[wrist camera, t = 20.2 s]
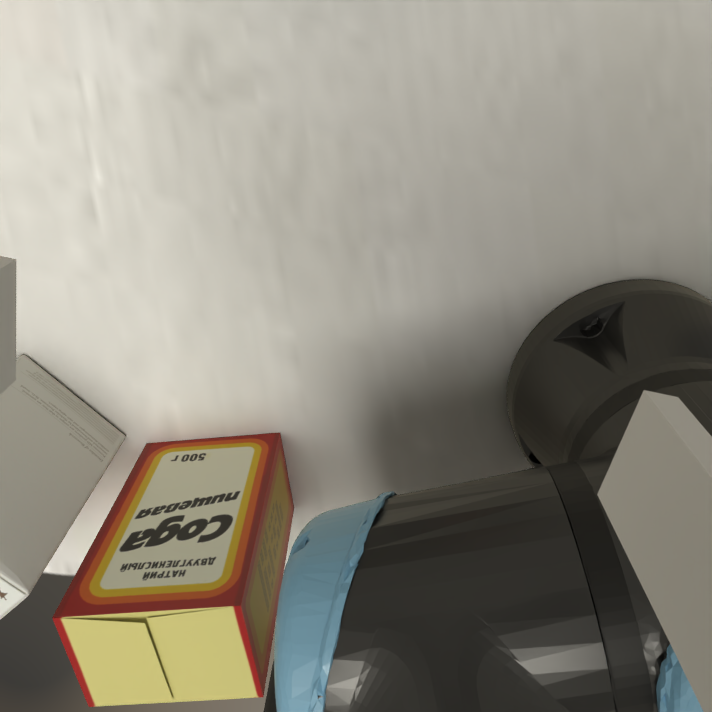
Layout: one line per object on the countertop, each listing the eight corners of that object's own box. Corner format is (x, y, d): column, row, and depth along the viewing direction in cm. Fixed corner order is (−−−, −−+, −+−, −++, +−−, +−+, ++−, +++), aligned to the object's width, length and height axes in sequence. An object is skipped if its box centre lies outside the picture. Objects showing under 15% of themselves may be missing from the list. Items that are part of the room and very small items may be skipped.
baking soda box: (280, 432, 47) (239, 611, 33) (293, 508, 50) (262, 703, 36) (146, 443, 48) (49, 623, 33) (167, 517, 51) (86, 713, 36)
